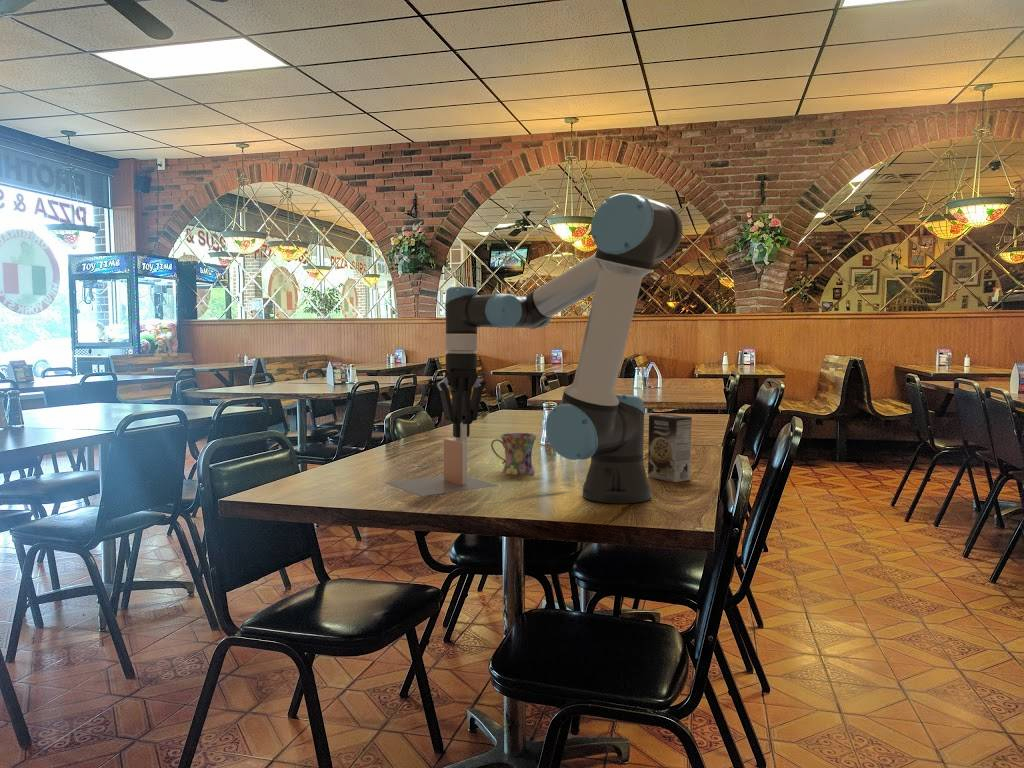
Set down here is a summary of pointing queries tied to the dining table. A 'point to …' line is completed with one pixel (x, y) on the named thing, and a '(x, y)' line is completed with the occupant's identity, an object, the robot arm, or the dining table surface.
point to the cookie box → (669, 447)
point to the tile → (455, 461)
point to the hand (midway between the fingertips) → (461, 450)
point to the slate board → (437, 485)
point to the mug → (517, 452)
